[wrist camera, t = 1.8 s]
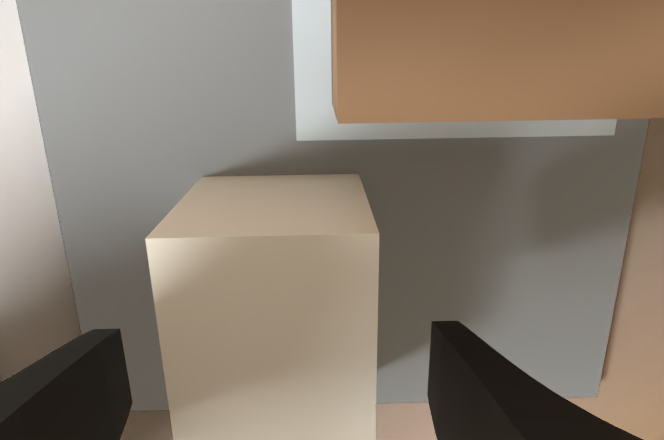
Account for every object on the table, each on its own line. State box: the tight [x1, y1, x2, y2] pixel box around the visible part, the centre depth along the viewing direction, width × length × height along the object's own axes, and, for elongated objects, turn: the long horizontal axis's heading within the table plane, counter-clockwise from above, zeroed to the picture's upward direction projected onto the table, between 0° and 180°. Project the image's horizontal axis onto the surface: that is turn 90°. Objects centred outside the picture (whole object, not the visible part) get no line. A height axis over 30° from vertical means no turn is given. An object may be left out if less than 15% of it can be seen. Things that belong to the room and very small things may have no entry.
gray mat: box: [16, 0, 650, 411], centre depth 14 cm, size 18×17×1 cm
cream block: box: [145, 174, 379, 440], centre depth 13 cm, size 7×4×5 cm, turn 1°
